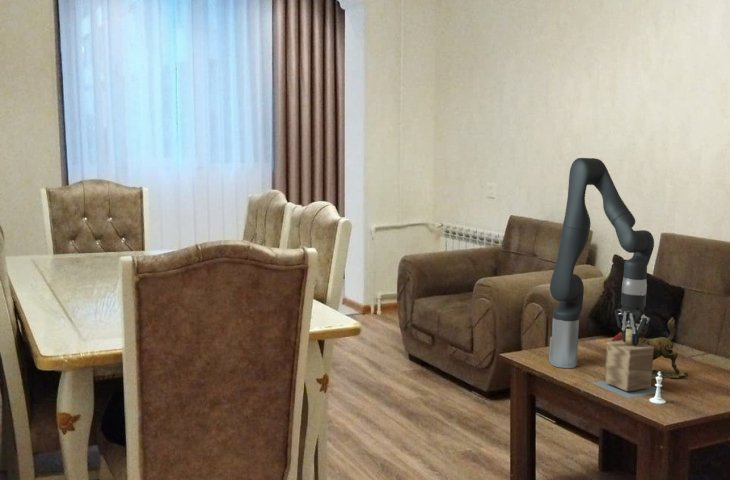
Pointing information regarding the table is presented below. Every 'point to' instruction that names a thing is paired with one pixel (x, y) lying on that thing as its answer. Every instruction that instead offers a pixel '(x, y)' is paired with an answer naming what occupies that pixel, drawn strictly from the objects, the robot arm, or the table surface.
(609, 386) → the mat
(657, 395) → the chess piece
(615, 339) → the onion
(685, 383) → the table surface
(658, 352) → the figurine
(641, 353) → the cover
